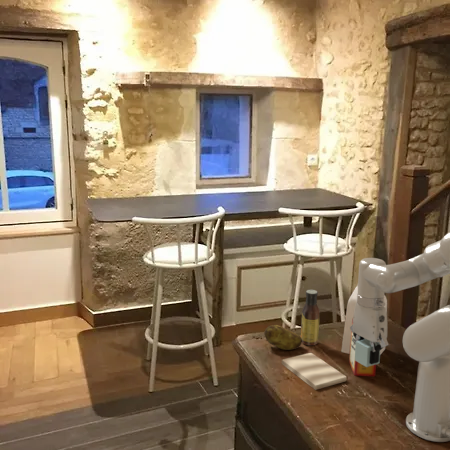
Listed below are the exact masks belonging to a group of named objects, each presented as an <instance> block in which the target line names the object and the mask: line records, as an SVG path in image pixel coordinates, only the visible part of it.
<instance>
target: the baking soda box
mask: <svg viewBox="0 0 450 450" xmlns="http://www.w3.org/2000/svg"><path fill="white" fill-rule="evenodd" d="M352 324H353V318H352ZM355 346H356V343H355V337H354V335H353V333H352V331H351V341H350V353H349V354H348V363H349V366H350V368H351V370H352V373H353V375H354V376H355V377H359V376H360V377H376V370H377V364H376V365H372V366H369V367H366V366H364V365H362V364H360V363H359V362H357V361H355Z"/></svg>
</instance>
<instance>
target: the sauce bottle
mask: <svg viewBox="0 0 450 450" xmlns="http://www.w3.org/2000/svg"><path fill="white" fill-rule="evenodd" d="M305 297H306V299H305V303H304V306H303V308H302V310H301V322H300V323H301V325H300V327H301V329H300V337H301V339H302V343H301V344H303V345H305V346H310V347H313V346H316V345H317V344H318V340H319V331H320V330H319V329H320V308H319V305H318V304H317V303H318V302H317V301H318V291H317V290H315V289H307V290H306V291H305Z"/></svg>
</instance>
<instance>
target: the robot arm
mask: <svg viewBox="0 0 450 450" xmlns="http://www.w3.org/2000/svg"><path fill="white" fill-rule="evenodd" d="M358 263H359V264H358V277H357V278H358V279H357V284H358V294H357V302H356V305H355V310H354V316H353V324H352V326H351V327H350V329H351V331H352V333H353V335H354V337H355V343H356V341H360V340H364V339H367V340H369V341H370V342H371V349H372V351H370V362H369V363H370V364H374V363H378V362H379V363H380V361H379V351H380V350H381V349H383V348H384V347H385V348H386V347H389V341H388V340H387V338H388V316H387V315H388V313H387V314H386V308H385V307H384V306H385V302H384V295H385V294H393V293H397V292H400V291H402V290H403V291H404V290H406V289H411V288H413V287H417V286H419V285H422V284H426V283H427V282H430V281H432V280H435V279H438V278H443V277H446V276H448V275H450V231H449V232H447V233H445V235H444V236H443V237H442V238H441V239H440V240H438V241H435V242H433V243H430V244H429V245H427V246H426V247H425V249H424V250H423V253H421V254H419V255H417V256H414V257H412V258H410V259H407V260H404V261H400V262H396V263H395V262H394V263H391V264H387V263H386V261H384V260H383V259H380V258H376V257H364V258H362V259H360V260H359V262H358ZM375 343H377V346H375ZM402 346H403V350H404V351H405V353H406V354H407V356H408V357H410V358H411V359H412V360H414V361H417V362H418V367H417V374H416V375H417V376H416V384H415V393H414V400H413V411H412V412H410V413H408V415H407V416H406V418H405V425H406V427H407V428H408V430H409V431H410V432H411V433H413V434H414V435H415V436H416V437H417V436H418V437H420V438H422V439H424V440H425V441H431V442H437V443H444V442H446V443H447V442H450V304H448V305H445V306H443V307H441V308H439V309H437V310H435V311H433V312H432V313H430V314H428V315H426V316H425V317H423V318H421V319H419V320H417V321H416V322H413V323H412V324H411V325H409V326H408V327H407V328H406V329H405V331H403V336H402Z"/></svg>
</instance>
